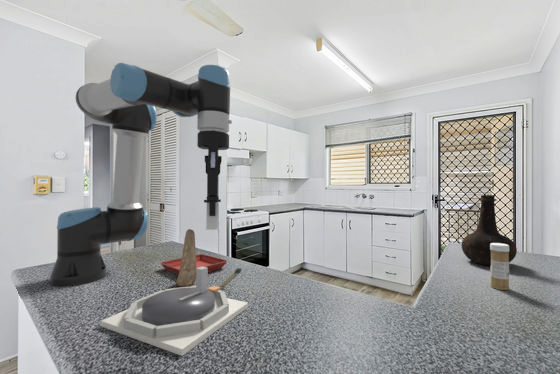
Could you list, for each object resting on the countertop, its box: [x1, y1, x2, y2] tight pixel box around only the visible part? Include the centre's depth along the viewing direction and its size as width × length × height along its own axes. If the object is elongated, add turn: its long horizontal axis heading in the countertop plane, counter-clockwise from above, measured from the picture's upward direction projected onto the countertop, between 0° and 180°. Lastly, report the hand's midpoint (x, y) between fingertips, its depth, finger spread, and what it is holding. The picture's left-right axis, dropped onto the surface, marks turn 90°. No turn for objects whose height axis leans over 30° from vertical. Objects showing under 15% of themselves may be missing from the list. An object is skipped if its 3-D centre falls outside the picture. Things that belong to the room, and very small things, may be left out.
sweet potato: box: [175, 228, 197, 288], centre depth 84 cm, size 6×18×6 cm
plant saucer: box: [160, 253, 228, 276], centre depth 101 cm, size 18×18×3 cm
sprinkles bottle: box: [490, 243, 510, 291], centre depth 82 cm, size 5×5×14 cm
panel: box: [100, 285, 249, 357], centre depth 63 cm, size 24×22×4 cm
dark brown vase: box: [460, 194, 518, 267], centre depth 109 cm, size 18×18×28 cm
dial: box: [142, 266, 215, 326], centre depth 63 cm, size 16×16×8 cm
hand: (212, 228), depth 65 cm, fingers closed
